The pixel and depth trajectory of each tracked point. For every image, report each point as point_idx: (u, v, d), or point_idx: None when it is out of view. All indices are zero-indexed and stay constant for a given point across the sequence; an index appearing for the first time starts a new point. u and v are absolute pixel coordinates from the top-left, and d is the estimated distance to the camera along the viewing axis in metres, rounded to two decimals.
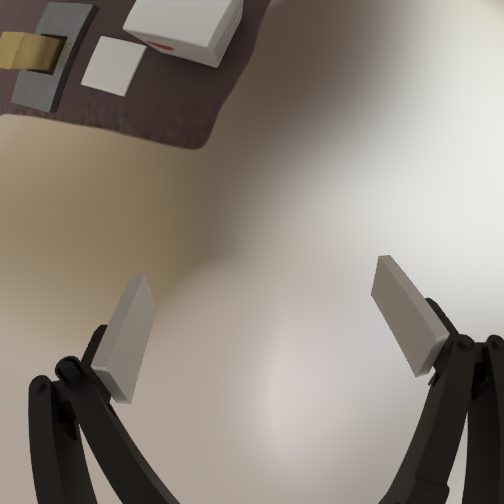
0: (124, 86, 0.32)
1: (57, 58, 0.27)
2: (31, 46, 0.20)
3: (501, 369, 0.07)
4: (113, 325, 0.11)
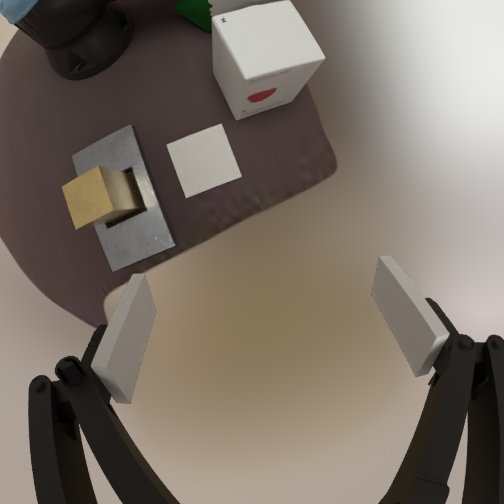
0: (234, 167, 0.38)
1: (136, 193, 0.36)
2: (112, 181, 0.28)
3: (501, 369, 0.07)
4: (113, 325, 0.11)
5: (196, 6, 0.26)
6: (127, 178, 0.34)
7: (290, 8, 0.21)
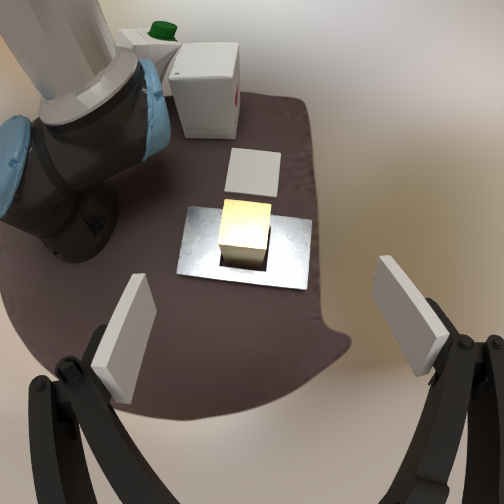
0: (271, 154, 0.45)
1: None
2: None
3: (501, 369, 0.07)
4: (113, 325, 0.11)
5: None
6: None
7: (190, 44, 0.33)
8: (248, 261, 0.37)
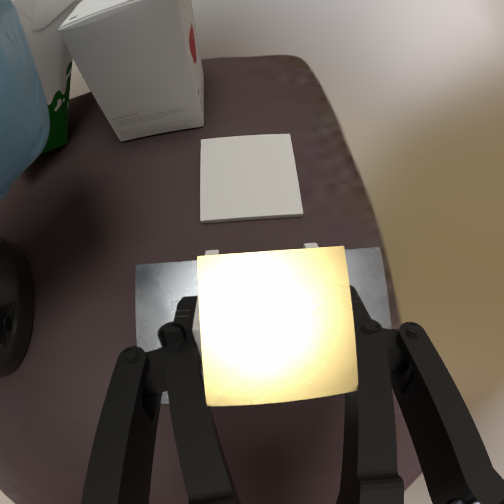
0: (274, 137, 0.24)
1: None
2: None
3: (425, 358, 0.09)
4: None
5: None
6: None
7: None
8: None
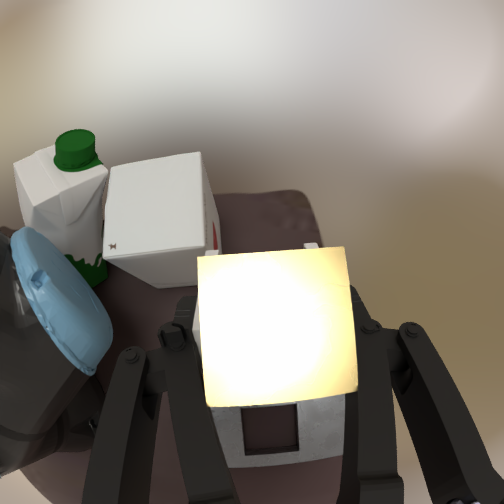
0: None
1: None
2: None
3: (425, 358, 0.09)
4: None
5: None
6: None
7: (123, 168, 0.23)
8: None
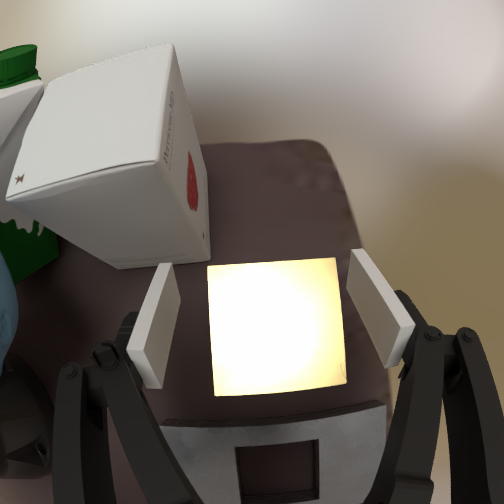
0: None
1: None
2: None
3: (475, 362, 0.08)
4: (145, 311, 0.12)
5: (8, 248, 0.17)
6: None
7: (62, 78, 0.12)
8: None
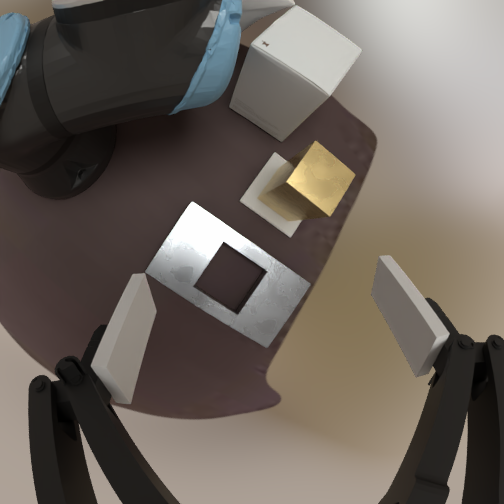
0: None
1: None
2: None
3: (501, 369, 0.07)
4: (113, 325, 0.11)
5: None
6: None
7: (305, 13, 0.21)
8: (287, 210, 0.32)
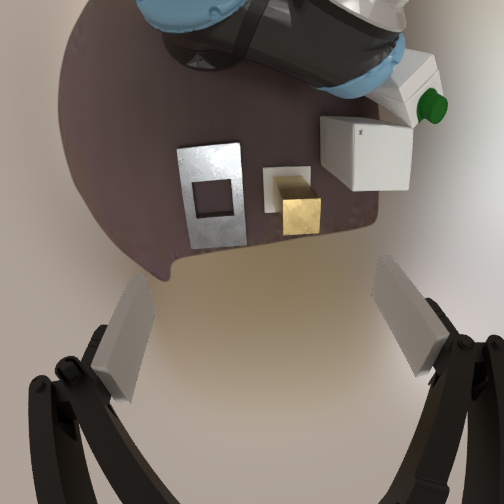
0: None
1: None
2: None
3: (501, 369, 0.07)
4: (113, 325, 0.11)
5: None
6: None
7: (409, 138, 0.30)
8: (276, 203, 0.45)
